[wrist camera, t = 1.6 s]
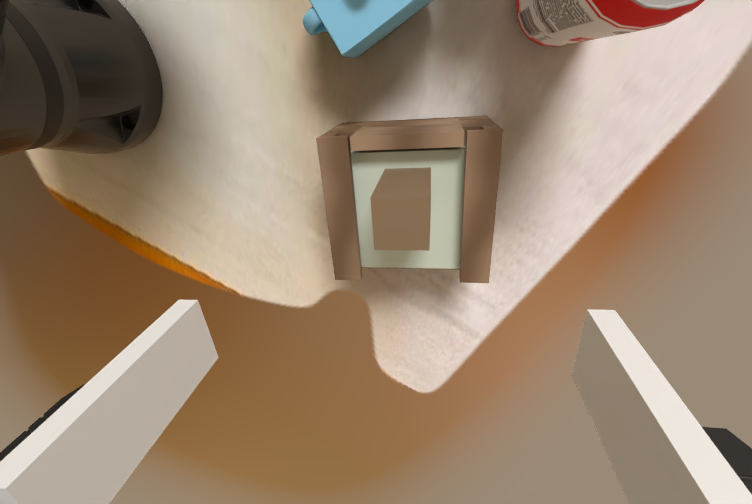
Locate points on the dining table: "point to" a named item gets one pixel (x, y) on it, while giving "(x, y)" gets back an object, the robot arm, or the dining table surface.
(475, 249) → the box
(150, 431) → the robot arm
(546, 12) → the beer can
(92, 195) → the dining table surface
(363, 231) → the lid
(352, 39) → the teapot
